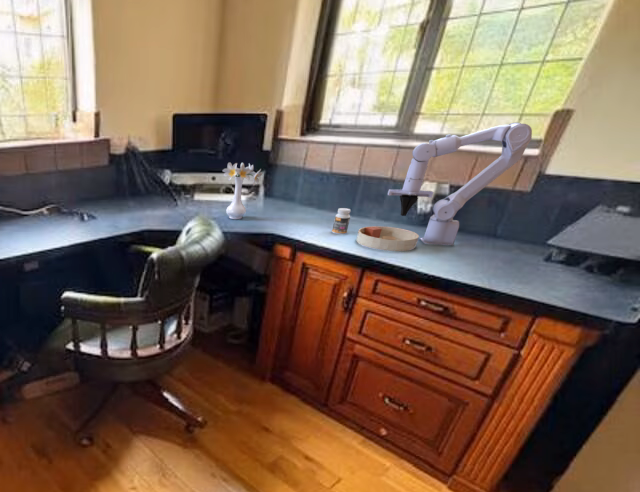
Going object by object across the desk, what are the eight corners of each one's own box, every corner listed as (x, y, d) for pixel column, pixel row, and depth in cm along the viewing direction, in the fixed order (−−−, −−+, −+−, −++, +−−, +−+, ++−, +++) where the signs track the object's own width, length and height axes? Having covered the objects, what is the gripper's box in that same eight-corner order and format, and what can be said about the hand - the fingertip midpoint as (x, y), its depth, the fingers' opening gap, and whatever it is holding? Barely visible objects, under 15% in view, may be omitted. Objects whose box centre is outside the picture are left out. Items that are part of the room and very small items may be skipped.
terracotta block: (379, 238, 166) (381, 228, 164) (370, 239, 165) (373, 229, 164) (371, 236, 170) (374, 226, 168) (363, 237, 169) (365, 227, 167)
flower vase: (252, 222, 195) (259, 165, 183) (214, 219, 203) (218, 163, 191) (259, 216, 205) (266, 161, 193) (222, 213, 213) (226, 160, 201)
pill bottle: (331, 234, 176) (336, 210, 171) (332, 230, 180) (337, 207, 175) (345, 235, 173) (351, 211, 169) (346, 232, 178) (352, 208, 173)
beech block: (391, 247, 156) (394, 236, 155) (392, 250, 153) (395, 239, 151) (379, 246, 158) (382, 235, 156) (380, 249, 155) (383, 238, 153)
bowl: (408, 239, 167) (411, 227, 165) (421, 254, 151) (425, 242, 148) (352, 235, 173) (355, 225, 171) (359, 250, 156) (362, 238, 154)
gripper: (395, 179, 155) (384, 216, 162) (440, 181, 151) (427, 219, 158) (391, 176, 161) (380, 212, 168) (434, 178, 157) (422, 214, 164)
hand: (403, 215), depth 163 cm, fingers closed
